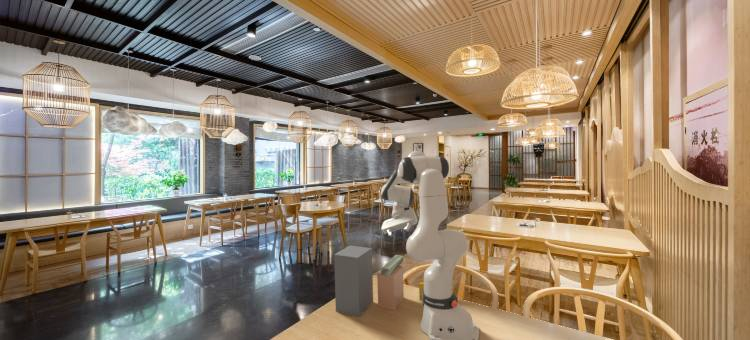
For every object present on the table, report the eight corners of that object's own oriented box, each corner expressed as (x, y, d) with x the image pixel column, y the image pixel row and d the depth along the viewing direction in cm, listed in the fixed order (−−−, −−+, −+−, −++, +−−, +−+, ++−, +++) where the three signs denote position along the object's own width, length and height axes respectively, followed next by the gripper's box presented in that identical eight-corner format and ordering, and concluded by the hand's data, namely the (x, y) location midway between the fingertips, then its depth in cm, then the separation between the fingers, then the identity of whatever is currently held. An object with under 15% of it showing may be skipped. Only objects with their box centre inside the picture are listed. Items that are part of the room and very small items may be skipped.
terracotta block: (403, 297, 138) (402, 266, 137) (394, 310, 126) (393, 276, 126) (388, 294, 141) (387, 264, 140) (378, 306, 130) (377, 273, 129)
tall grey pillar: (373, 301, 134) (371, 248, 133) (359, 317, 122) (357, 257, 120) (351, 297, 139) (350, 245, 138) (335, 311, 127) (334, 254, 126)
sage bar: (403, 261, 143) (403, 255, 143) (389, 276, 126) (388, 269, 126) (395, 260, 145) (395, 254, 145) (380, 274, 128) (380, 268, 128)
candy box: (419, 300, 134) (419, 283, 134) (419, 298, 137) (418, 281, 136) (453, 300, 134) (453, 283, 134) (452, 298, 136) (452, 281, 136)
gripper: (380, 217, 159) (377, 234, 147) (413, 206, 152) (413, 223, 140) (386, 225, 161) (383, 242, 150) (418, 214, 154) (418, 231, 143)
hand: (398, 233), depth 145 cm, fingers open, 8 cm apart
